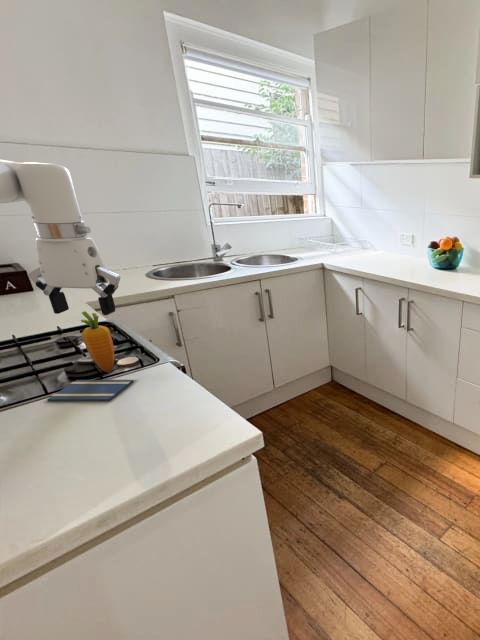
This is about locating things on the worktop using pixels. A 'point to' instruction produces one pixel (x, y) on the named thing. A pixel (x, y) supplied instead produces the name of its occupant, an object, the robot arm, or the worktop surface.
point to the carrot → (98, 343)
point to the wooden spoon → (115, 361)
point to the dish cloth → (91, 390)
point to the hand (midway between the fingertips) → (85, 312)
